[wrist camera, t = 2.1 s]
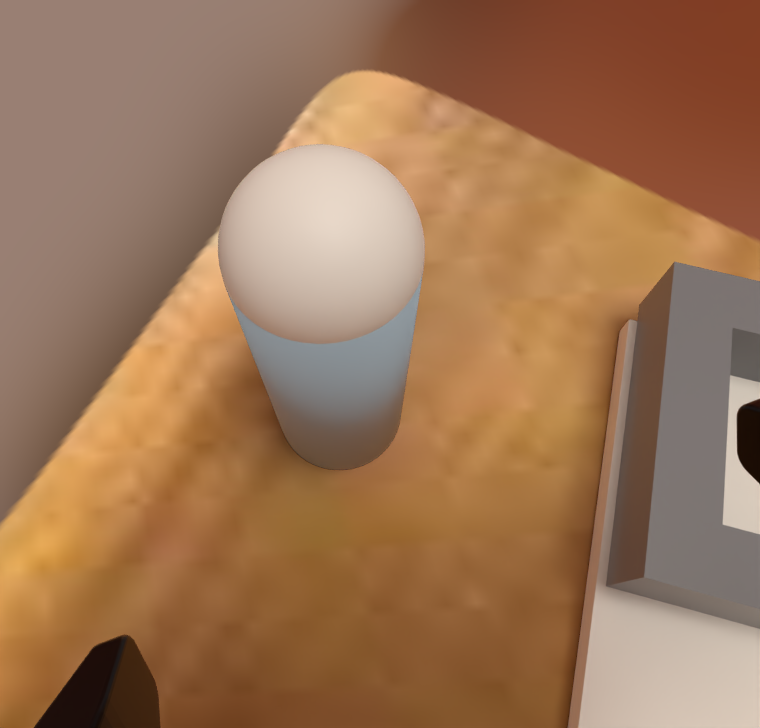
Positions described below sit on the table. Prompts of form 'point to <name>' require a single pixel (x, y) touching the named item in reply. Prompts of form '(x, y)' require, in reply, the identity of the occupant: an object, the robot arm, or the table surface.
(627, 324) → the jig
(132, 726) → the robot arm
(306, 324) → the ball-topped blue post
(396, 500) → the table surface
